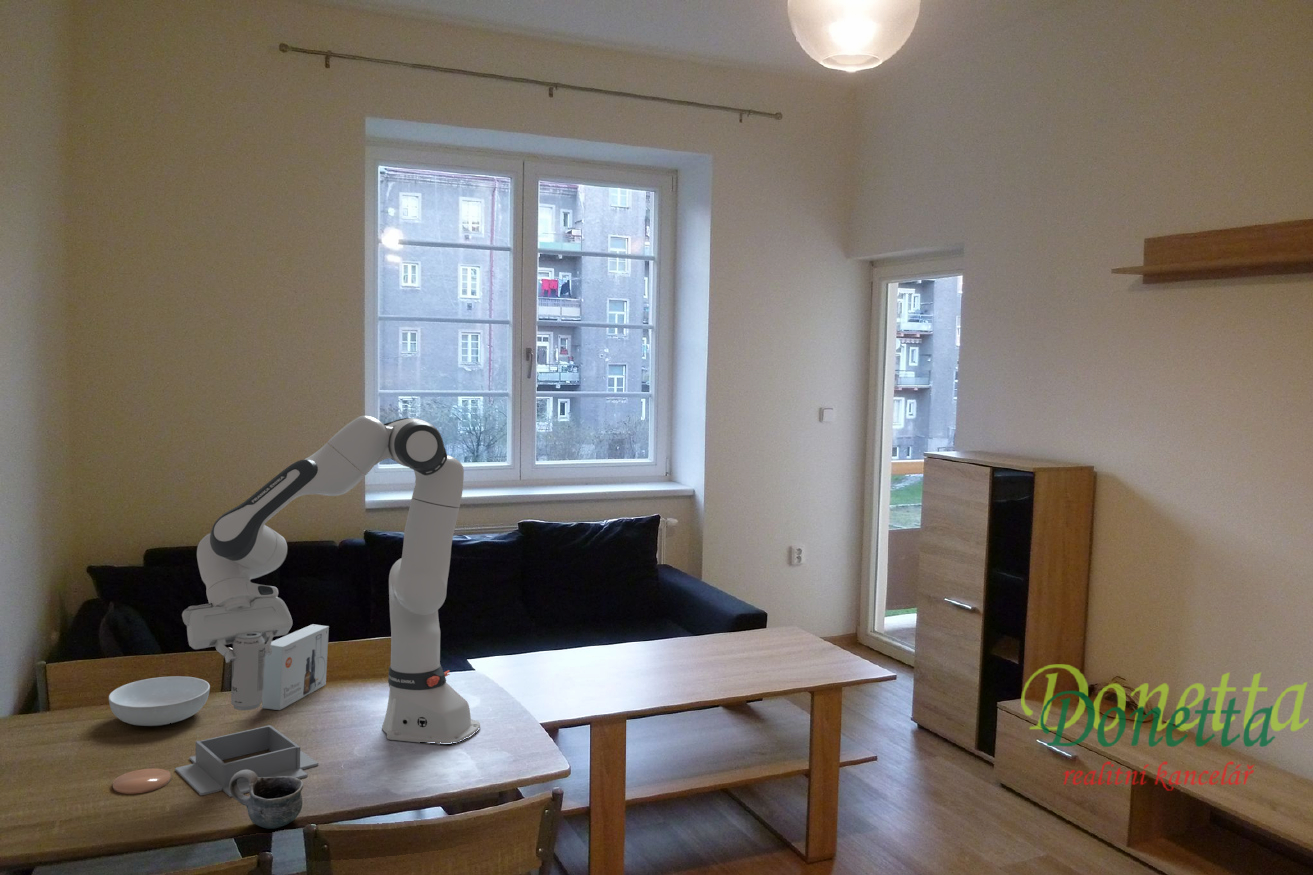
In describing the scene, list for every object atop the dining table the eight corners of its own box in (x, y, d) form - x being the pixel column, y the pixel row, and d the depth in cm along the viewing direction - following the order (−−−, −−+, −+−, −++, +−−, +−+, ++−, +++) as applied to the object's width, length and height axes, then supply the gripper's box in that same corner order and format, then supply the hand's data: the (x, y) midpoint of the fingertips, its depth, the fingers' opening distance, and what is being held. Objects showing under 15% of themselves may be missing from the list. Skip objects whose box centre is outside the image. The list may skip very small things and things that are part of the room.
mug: (301, 833, 170) (302, 778, 170) (225, 841, 167) (225, 785, 166) (304, 809, 180) (305, 757, 179) (231, 816, 176) (232, 763, 175)
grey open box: (281, 738, 213) (281, 716, 213) (326, 771, 197) (327, 747, 196) (168, 764, 198) (168, 740, 197) (208, 803, 181) (208, 777, 180)
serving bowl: (86, 726, 216) (86, 696, 216) (164, 699, 236) (164, 671, 235) (155, 742, 209) (156, 711, 208) (230, 712, 228) (230, 683, 228)
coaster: (182, 777, 191) (182, 773, 191) (139, 797, 182) (139, 793, 182) (144, 769, 195) (144, 765, 195) (100, 788, 185) (100, 784, 185)
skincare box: (281, 711, 230) (282, 646, 229) (261, 709, 231) (261, 644, 230) (328, 684, 251) (329, 624, 250) (309, 682, 252) (310, 623, 251)
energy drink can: (232, 701, 198) (234, 630, 197) (264, 700, 200) (266, 629, 199) (229, 712, 193) (231, 639, 192) (261, 710, 194) (263, 638, 193)
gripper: (183, 599, 193) (199, 658, 186) (284, 586, 207) (303, 641, 200) (176, 616, 196) (192, 675, 190) (276, 602, 210) (294, 657, 204)
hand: (249, 657), depth 195 cm, fingers closed on energy drink can, 6 cm apart
